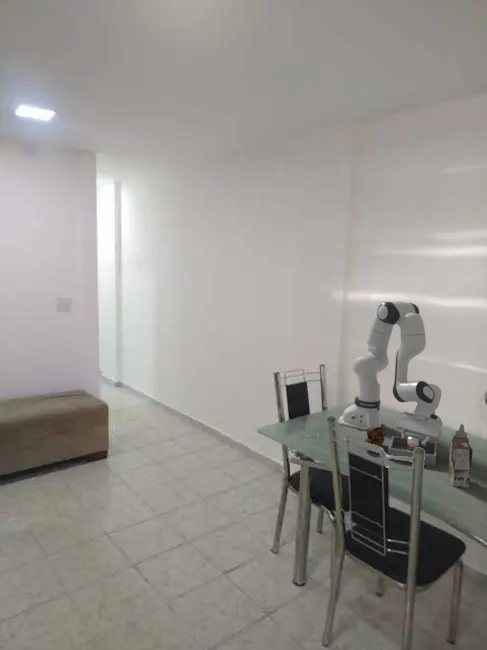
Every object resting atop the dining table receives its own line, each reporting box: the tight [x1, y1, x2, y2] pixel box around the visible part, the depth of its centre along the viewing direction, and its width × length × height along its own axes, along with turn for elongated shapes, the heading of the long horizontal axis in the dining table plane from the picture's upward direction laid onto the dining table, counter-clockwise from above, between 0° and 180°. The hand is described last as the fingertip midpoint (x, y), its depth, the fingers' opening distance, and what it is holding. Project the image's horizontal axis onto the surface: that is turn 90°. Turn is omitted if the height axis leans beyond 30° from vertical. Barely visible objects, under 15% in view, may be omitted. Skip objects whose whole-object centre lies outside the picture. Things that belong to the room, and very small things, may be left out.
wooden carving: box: [363, 426, 387, 447], centre depth 223 cm, size 16×5×10 cm, turn 138°
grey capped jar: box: [407, 434, 420, 452], centre depth 215 cm, size 5×5×8 cm
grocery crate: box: [387, 435, 438, 468], centre depth 215 cm, size 20×16×5 cm
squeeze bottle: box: [449, 423, 470, 456], centre depth 207 cm, size 8×8×18 cm
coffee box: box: [447, 439, 474, 488], centre depth 191 cm, size 9×6×16 cm
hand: (412, 442), depth 214 cm, fingers open, 8 cm apart
